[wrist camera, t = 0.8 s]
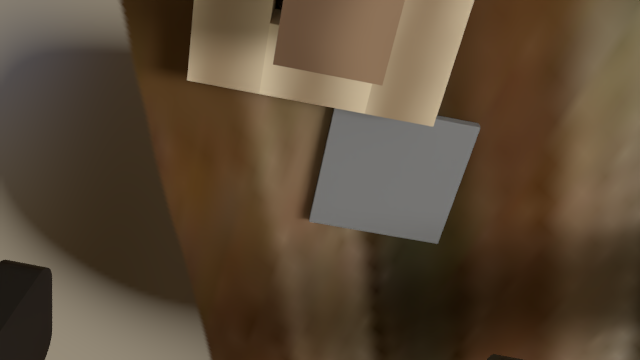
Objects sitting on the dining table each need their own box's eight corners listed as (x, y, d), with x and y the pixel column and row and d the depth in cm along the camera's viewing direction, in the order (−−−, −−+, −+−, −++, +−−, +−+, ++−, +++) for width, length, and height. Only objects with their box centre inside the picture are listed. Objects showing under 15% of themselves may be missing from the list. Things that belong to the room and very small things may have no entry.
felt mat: (478, 123, 37) (480, 127, 36) (436, 238, 41) (437, 243, 41) (336, 96, 36) (336, 100, 36) (309, 216, 41) (309, 221, 40)
